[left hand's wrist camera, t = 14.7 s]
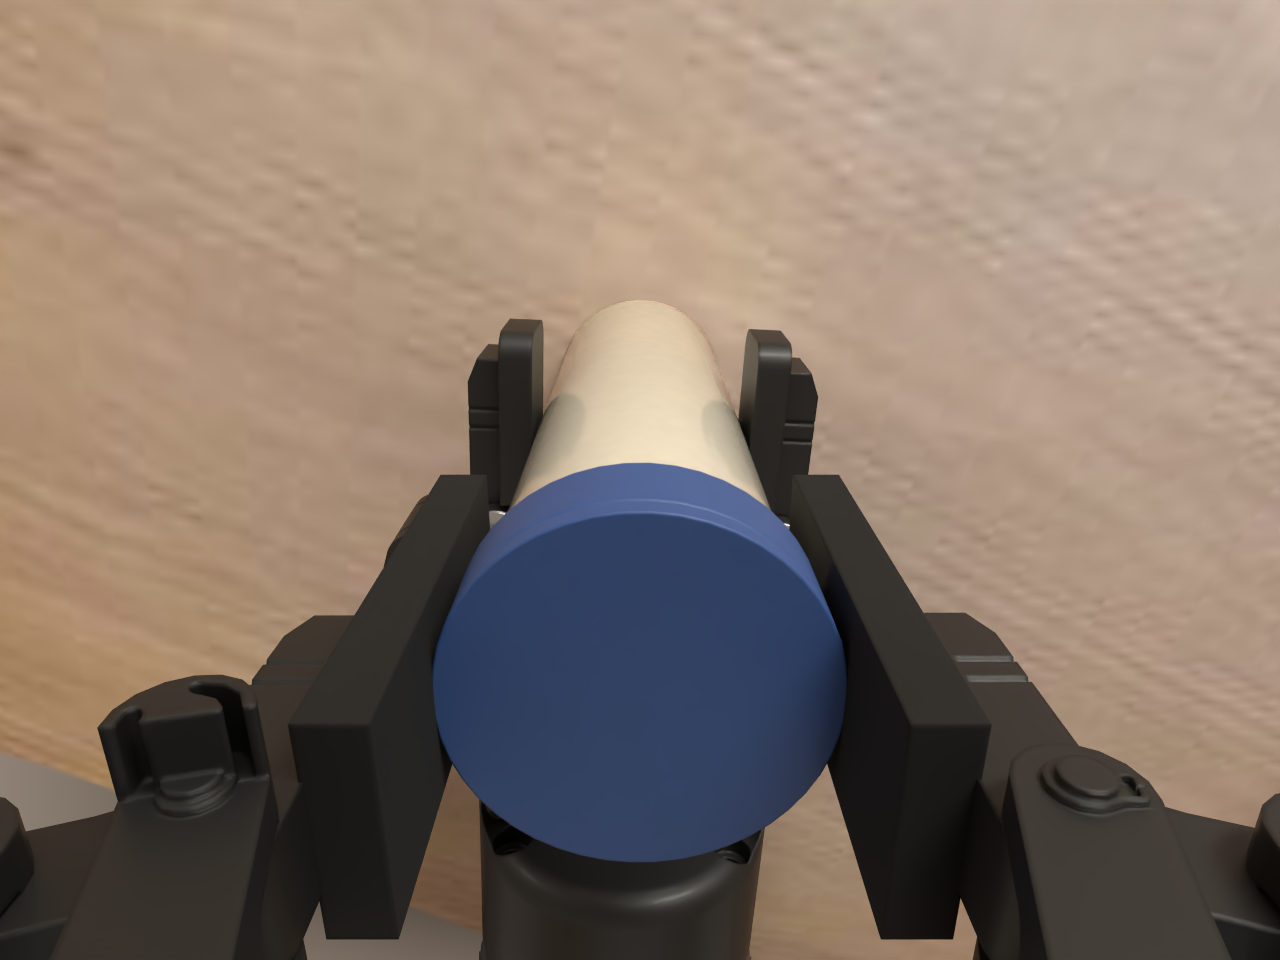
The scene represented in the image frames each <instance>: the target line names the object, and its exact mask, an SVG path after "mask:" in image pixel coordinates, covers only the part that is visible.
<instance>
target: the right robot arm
mask: <svg viewBox="0 0 1280 960" xmlns="http://www.w3.org/2000/svg"><path fill="white" fill-rule="evenodd" d="M817 401H818V395H817V392H816V388H815V385H814V381H813V377H812V374H811V372H810V371H809V370H808V368H807V367H806V366H805V364H804V363H803V362H802V361H801V359H800V358H792V348H791V344H790V342H789V341H788V340H787V338H786V337H785V336H784V334H783V333H782V332H781V331H776V330H755V329H749V330H748V333H747V338H746V345H745V356H744V366H743V377H742V387H741V398H740V408H739V419H738V421H739V424H740V427H741V429H742V432H743V435H744V438H745V440H746V443H747V446H748V448H749V451H750V454H751V457H752V459H753V462H754V465H755V468H756V470H757V473H758V476H759V479H760V481H761V484H762V487H763V489H764V492H765V495H766V498H767V500H768V503H769V506H770V509H771V511H772V512H773V513H774V514H775V515H776V516H777V517H778V518H779V519H780V520H781V521H782V522H783V523H784V524H785V526H786V527H787V528H788V529H789V525H790V511H791V496H792V482H793V475H808V471H809V463H810V455H811V447H812V440H813V432H814V421H815V416H816V409H817ZM468 403H469V425H470V428H469V440H470V475H487V489H488V504H489V518H490V530H491V528H492V527H493V526H494V525H495V524H496V523H497V522H498V521H499V520H500V519H501V518H502V517H503V516H504V515H505V514H506V513H507V512H508V511H509V508H510V505H511V502H512V500H513V497H514V494H515V491H516V489H517V486H518V483H519V480H520V478H521V475H522V472H523V470H524V467H525V464H526V461H527V459H528V456H529V453H530V450H531V448H532V445H533V442H534V439H535V437H536V434H537V431H538V429H539V426H540V423H541V420H542V418H543V322H542V320H528V319H510V320H509V321H508V322H507V324H506V325H505V326H504V327H503V329H502V330H501V333H500V337H499V345H495V344H488V345H487V346H486V348H485V349H484V350H483V352H482V353H481V354H480V355H479V357H478V358H477V360H476V362H475V365H474V367H473V370H472V373H471V375H470V378H469V380H468ZM427 496H428V495H426V496H424V497H423V498H421V499H420V500H419V501H418V503H417V504H416V506H415V507H414V509H413V511H412V512H411V513H410V515H409V517H408V518H407V520H406V521H405V523H404V525H403V526H402V528H401V529H400V531H399V532H398V534H397V536H396V537H395V539H394V541H393V542H392V544H391V545H390V547H389V549H388V552H387V556H386V560H385V564H384V567H385V565H386V563H387V562H388V560H389V558H390V557H391V555H392V553H393V552H394V550H395V549H396V547H397V545H398V544H399V542H400V540H401V539H402V537H403V536H404V534H405V532H406V531H407V529H408V527H409V526H410V524H411V522H412V521H413V519H414V518H415V516H416V514H417V513H418V511H419V509H420V508H421V506H422V505H423V503H424V501H425V500H426V498H427ZM479 808H480V841H481V879H482V925H483V941H482V944H481V951H480V952H479V960H751V956H750V952H749V946H750V938H751V930H752V922H753V915H754V907H755V899H756V892H757V884H758V876H759V868H760V861H761V853H762V845H763V837H764V830H765V827H764V828H763V829H761V830H759V831H757V832H756V833H754V834H752V835H751V836H749V837H747V838H745V839H742V840H740V841H738V842H736V843H734V844H731V845H729V846H727V847H724V848H721V849H718V850H715V851H712V852H709V853H705V854H702V855H697V856H693V857H688V858H683V859H678V860H669V861H660V862H620V861H609V860H602V859H597V858H592V857H587V856H581V855H578V854H575V853H571V852H568V851H565V850H561V849H558V848H555V847H553V846H551V845H548V844H546V843H544V842H541V841H539V840H537V839H534V838H533V837H531V836H529V835H527V834H526V833H524V832H522V831H520V830H518V829H517V828H515V827H513V826H512V825H510V824H509V823H508V822H506V821H505V820H504V819H502V818H501V817H499V816H498V815H497V814H495V813H494V812H493V811H492V810H491V809H490V808H489V807H487V806H486V805H485V804H484V803H483V802H482V801H481V800H480V799H479Z"/></svg>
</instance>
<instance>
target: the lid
mask: <svg viewBox="0 0 1280 960" xmlns="http://www.w3.org/2000/svg"><path fill="white" fill-rule="evenodd" d="M432 683H433V695H434V704H435V713H436V722H437V728H438V732H439V735H440V739H441V741H442V743H443V745H444V748H445V750H446V752H447V754H448V757H449V759H450V760H451V762H452V764H453V765H454V767H455V768H456V770H457V772H458V773H459V775H460V776H461V778H462V779H463V781H464V782H465V783H466V784H467V785H468V787H469V788H470V789H471V790H472V791H473V793H474V794H475V795H476V796H477V797H478V798H479V799H480V800H481V801H482V802H483V803H484V804H485V805H486V806H487V807H489V808H490V809H491V810H492V811H493V812H494V813H495V814H497V815H498V816H499V817H501V818H502V819H504V820H505V821H506V822H508V823H509V824H510V825H512V826H513V827H515V828H517V829H518V830H520V831H522V832H524V833H526V834H527V835H529V836H531V837H533V838H534V839H537V840H539V841H541V842H544V843H546V844H548V845H551V846H553V847H555V848H558V849H561V850H565V851H568V852H571V853H575V854H578V855H581V856H587V857H592V858H597V859H602V860H609V861H620V862H660V861H669V860H678V859H683V858H688V857H693V856H697V855H702V854H705V853H709V852H712V851H715V850H718V849H721V848H724V847H727V846H729V845H731V844H734V843H736V842H738V841H740V840H742V839H745V838H747V837H749V836H751V835H752V834H754V833H756V832H757V831H759V830H761V829H763V828H764V827H766V826H768V825H769V824H771V823H772V822H773V821H775V820H776V819H777V818H779V817H780V816H781V815H783V814H784V813H785V812H786V811H788V810H789V809H790V808H791V807H792V806H793V805H794V804H795V803H796V802H797V801H798V800H799V799H800V798H801V797H802V796H803V795H804V794H805V793H806V792H807V791H808V790H809V788H810V787H811V786H812V785H813V783H814V782H815V781H816V780H817V778H818V777H819V776H820V774H821V773H822V771H823V769H824V768H825V766H826V764H827V762H828V761H829V759H830V757H831V756H832V754H833V751H834V749H835V746H836V744H837V741H838V739H839V737H840V734H841V731H842V726H843V717H844V708H845V699H846V689H847V662H846V657H845V653H844V648H843V644H842V640H841V638H840V635H839V633H838V630H837V628H836V625H835V623H834V620H833V618H832V615H831V613H830V610H829V608H828V606H827V603H826V601H825V598H824V596H823V593H822V591H821V589H820V586H819V584H818V581H817V579H816V577H815V574H814V572H813V569H812V567H811V564H810V562H809V560H808V558H807V556H806V554H805V553H804V551H803V549H802V548H801V546H800V544H799V542H798V541H797V539H796V538H795V537H794V536H793V534H792V533H791V532H790V531H789V529H788V528H787V527H786V526H785V524H784V523H783V522H782V521H781V520H780V519H779V518H778V517H777V516H776V515H775V514H774V513H773V512H772V511H770V510H769V509H768V508H767V507H766V506H765V505H764V504H762V503H761V502H759V501H758V500H757V499H755V498H754V497H752V496H751V495H750V494H748V493H747V492H745V491H743V490H741V489H740V488H738V487H736V486H734V485H732V484H730V483H728V482H726V481H725V480H722V479H719V478H717V477H714V476H711V475H709V474H706V473H703V472H701V471H697V470H692V469H688V468H684V467H680V466H676V465H667V464H658V463H620V464H613V465H606V466H598V467H595V468H591V469H587V470H583V471H580V472H576V473H573V474H570V475H568V476H565V477H563V478H560V479H558V480H556V481H553V482H551V483H549V484H547V485H545V486H544V487H542V488H540V489H538V490H537V491H535V492H533V493H531V494H529V495H528V496H527V497H525V498H524V499H523V500H521V501H520V502H519V503H518V504H516V505H515V506H514V507H512V508H511V509H510V510H509V511H508V512H507V513H506V514H505V515H504V516H503V517H502V518H501V519H500V520H499V521H498V522H497V523H496V524H495V525H494V526H493V527H492V528H491V530H490V531H489V532H488V534H487V535H486V536H485V538H484V539H483V540H482V542H481V543H480V544H479V546H478V548H477V550H476V552H475V554H474V555H473V557H472V559H471V561H470V563H469V565H468V567H467V570H466V572H465V575H464V577H463V579H462V582H461V584H460V587H459V589H458V592H457V594H456V596H455V599H454V601H453V604H452V606H451V609H450V611H449V613H448V616H447V618H446V620H445V623H444V626H443V628H442V631H441V634H440V637H439V639H438V642H437V645H436V650H435V655H434V660H433V665H432Z"/></svg>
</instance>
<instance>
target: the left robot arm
mask: <svg viewBox="0 0 1280 960" xmlns="http://www.w3.org/2000/svg"><path fill="white" fill-rule="evenodd" d="M489 531H490V518H489V504H488V489H487V475H440V477H439V478H438V480H437V482H436V483H435V485H434V487H433V488H432V490H431V492H430V493H429V495H428V496H427V498H426V500H425V501H424V503H423V505H422V506H421V508H420V509H419V511H418V513H417V514H416V516H415V518H414V519H413V521H412V522H411V524H410V526H409V527H408V529H407V531H406V532H405V534H404V536H403V537H402V539H401V540H400V542H399V544H398V545H397V547H396V549H395V550H394V552H393V553H392V555H391V557H390V558H389V560H388V562H387V563H386V565H385V567H384V568H383V570H382V571H381V573H380V575H379V576H378V578H377V580H376V581H375V583H374V584H373V586H372V588H371V589H370V591H369V593H368V594H367V596H366V597H365V599H364V601H363V602H362V604H361V606H360V607H359V609H358V611H357V612H356V614H355V615H354V616H313V617H312V618H310V619H309V620H307V621H306V622H304V623H303V624H301V625H300V626H298V627H297V628H295V629H294V630H292V631H291V632H290V633H288V634H287V635H285V636H284V637H283V638H282V640H281V641H280V642H279V644H278V645H277V647H276V648H275V649H274V651H273V652H272V653H271V655H270V656H269V658H268V659H267V664H266V665H263V666H262V667H261V668H260V670H259V671H258V673H257V674H256V675H255V677H254V678H253V679H252V685H248V684H247V683H246V682H245V681H243V680H242V679H237V678H233V677H229V676H225V675H199V676H191V677H186V678H182V679H177V680H173V681H169V682H164V683H162V684H160V685H157V686H155V687H152V688H150V689H148V690H145V691H143V692H140V693H138V694H136V695H134V696H133V697H131V698H130V699H128V700H127V701H125V702H124V703H122V704H121V705H119V706H118V707H116V708H115V709H113V710H112V711H111V712H110V713H109V715H108V716H107V717H106V718H105V719H104V721H103V722H102V723H101V724H100V725H99V726H98V732H99V735H100V739H101V743H102V746H103V750H104V753H105V757H106V760H107V764H108V768H109V771H110V775H111V778H112V782H113V786H114V789H115V793H116V796H117V800H118V802H117V805H116V807H115V809H114V811H112V812H109V813H105V814H102V815H98V816H95V817H90V818H86V819H81V820H77V821H72V822H67V823H63V824H58V825H54V826H49V827H45V828H40V829H35V830H31V831H25V828H24V825H23V822H22V819H21V816H20V813H19V810H18V808H17V807H15V806H14V805H13V804H12V803H10V802H9V801H8V800H7V799H6V798H2V797H0V960H307V956H306V951H305V945H304V940H303V938H304V936H305V933H306V931H307V929H308V926H309V924H310V921H311V919H312V917H313V915H314V912H315V910H316V907H317V905H318V903H319V901H320V906H321V912H322V917H323V923H324V928H325V934H326V939H399V936H400V933H401V930H402V926H403V923H404V920H405V917H406V913H407V910H408V907H409V904H410V900H411V897H412V894H413V890H414V887H415V884H416V881H417V877H418V874H419V871H420V868H421V864H422V861H423V858H424V854H425V851H426V848H427V845H428V841H429V838H430V835H431V832H432V828H433V825H434V822H435V818H436V815H437V812H438V809H439V805H440V802H441V799H442V796H443V792H444V789H445V786H446V782H447V779H448V776H449V773H450V769H451V766H452V762H451V760H450V759H449V757H448V754H447V752H446V750H445V748H444V745H443V743H442V741H441V739H440V735H439V732H438V728H437V722H436V713H435V704H434V695H433V683H432V665H433V660H434V655H435V650H436V645H437V642H438V639H439V637H440V634H441V631H442V628H443V626H444V623H445V620H446V618H447V616H448V613H449V611H450V609H451V606H452V604H453V601H454V599H455V596H456V594H457V592H458V589H459V587H460V584H461V582H462V579H463V577H464V575H465V572H466V570H467V567H468V565H469V563H470V561H471V559H472V557H473V555H474V554H475V552H476V550H477V548H478V546H479V544H480V543H481V542H482V540H483V539H484V538H485V536H486V535H487V534H488V532H489ZM789 531H790V532H791V533H792V534H793V536H794V537H795V538H796V539H797V541H798V542H799V544H800V546H801V548H802V549H803V551H804V553H805V554H806V556H807V558H808V560H809V562H810V564H811V567H812V569H813V572H814V574H815V577H816V579H817V581H818V584H819V586H820V589H821V591H822V593H823V596H824V598H825V601H826V603H827V606H828V608H829V610H830V613H831V615H832V618H833V620H834V623H835V625H836V628H837V630H838V633H839V635H840V638H841V640H842V644H843V648H844V653H845V657H846V662H847V689H846V699H845V708H844V717H843V726H842V731H841V734H840V737H839V739H838V741H837V744H836V746H835V749H834V751H833V754H832V756H831V757H830V759H829V761H828V762H827V764H828V768H829V771H830V774H831V778H832V781H833V784H834V787H835V791H836V794H837V797H838V800H839V804H840V807H841V810H842V814H843V817H844V820H845V823H846V827H847V830H848V833H849V837H850V840H851V843H852V846H853V850H854V853H855V856H856V859H857V863H858V866H859V869H860V873H861V876H862V879H863V882H864V886H865V889H866V892H867V895H868V899H869V902H870V905H871V909H872V912H873V915H874V918H875V922H876V925H877V928H878V931H879V935H880V938H881V939H953V937H954V931H955V925H956V920H957V914H958V909H959V903H960V898H961V900H962V902H963V904H964V907H965V909H966V911H967V914H968V916H969V918H970V921H971V923H972V925H973V928H974V930H975V932H976V935H977V940H976V945H975V951H974V956H973V960H1280V794H1275V795H1274V796H1273V797H1271V798H1270V799H1269V800H1268V801H1267V802H1265V803H1264V804H1263V805H1262V808H1261V811H1260V814H1259V817H1258V820H1257V823H1256V826H1255V828H1253V827H1248V826H1243V825H1239V824H1234V823H1230V822H1225V821H1220V820H1216V819H1211V818H1207V817H1202V816H1197V815H1193V814H1188V813H1184V812H1181V811H1177V810H1174V809H1170V808H1167V807H1165V806H1164V803H1163V801H1162V799H1161V798H1160V797H1159V795H1158V794H1157V792H1156V791H1155V790H1154V788H1153V787H1152V785H1151V784H1150V783H1149V781H1147V780H1146V779H1145V778H1144V777H1142V776H1141V775H1140V774H1138V773H1137V772H1136V771H1134V770H1133V769H1132V768H1130V767H1129V766H1128V765H1127V764H1125V763H1123V762H1121V761H1118V760H1116V759H1114V758H1112V757H1110V756H1108V755H1106V754H1104V753H1102V752H1099V751H1096V750H1092V749H1088V748H1085V747H1081V746H1079V745H1078V744H1077V743H1076V741H1075V740H1074V739H1073V737H1072V736H1071V735H1070V733H1069V732H1068V731H1067V729H1066V728H1065V727H1064V725H1063V724H1062V722H1061V721H1060V720H1059V718H1058V717H1057V716H1056V714H1055V713H1054V712H1053V710H1052V709H1051V708H1050V706H1049V705H1048V703H1047V702H1046V701H1045V699H1044V698H1043V697H1042V695H1041V694H1040V693H1039V691H1038V690H1037V689H1036V687H1035V686H1034V684H1033V683H1032V682H1028V676H1027V675H1026V674H1025V672H1024V671H1023V670H1022V668H1021V667H1020V665H1019V664H1018V663H1017V662H1014V661H1013V656H1012V655H1011V653H1010V652H1009V651H1008V649H1007V648H1006V647H1005V645H1004V644H1003V642H1002V641H1001V640H1000V638H999V637H998V636H997V634H996V633H995V632H993V631H992V630H990V629H989V628H987V627H986V626H984V625H983V624H981V623H980V622H978V621H977V620H975V619H974V618H972V617H971V616H969V615H968V614H966V613H923V611H922V610H921V608H920V607H919V605H918V603H917V602H916V600H915V598H914V597H913V595H912V593H911V592H910V590H909V589H908V587H907V585H906V584H905V582H904V580H903V579H902V577H901V576H900V574H899V572H898V571H897V569H896V567H895V566H894V564H893V563H892V561H891V559H890V558H889V556H888V554H887V553H886V551H885V549H884V548H883V546H882V545H881V543H880V541H879V540H878V538H877V536H876V535H875V533H874V532H873V530H872V528H871V527H870V525H869V523H868V522H867V520H866V518H865V517H864V515H863V514H862V512H861V510H860V509H859V507H858V505H857V504H856V502H855V501H854V499H853V497H852V496H851V494H850V492H849V491H848V489H847V488H846V486H845V484H844V483H843V481H842V479H841V478H840V476H839V475H793V482H792V496H791V511H790V525H789Z"/></svg>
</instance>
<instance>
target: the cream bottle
mask: <svg viewBox="0 0 1280 960" xmlns="http://www.w3.org/2000/svg"><path fill="white" fill-rule="evenodd" d="M620 463H658V464H667V465H676V466H680V467H684V468H688V469H692V470H697V471H701V472H703V473H706V474H709V475H711V476H714V477H717V478H719V479H722V480H725V481H726V482H728V483H730V484H732V485H734V486H736V487H738V488H740V489H741V490H743V491H745V492H747V493H748V494H750V495H751V496H752V497H754V498H755V499H757V500H758V501H759V502H761V503H762V504H764V505H765V506H766V507H767V508H768V509H769V510H770V511H771V509H770V506H769V503H768V500H767V498H766V495H765V492H764V489H763V487H762V484H761V481H760V479H759V476H758V473H757V470H756V468H755V465H754V462H753V459H752V457H751V454H750V451H749V448H748V446H747V443H746V440H745V438H744V435H743V432H742V429H741V427H740V424H739V421H738V418H737V416H736V413H735V410H734V407H733V405H732V402H731V399H730V397H729V394H728V391H727V388H726V386H725V383H724V380H723V377H722V375H721V372H720V369H719V366H718V364H717V361H716V358H715V356H714V353H713V350H712V348H711V345H710V343H709V341H708V339H707V338H706V336H705V334H704V333H703V332H702V330H701V329H700V328H699V326H698V325H697V324H696V323H695V322H694V321H693V320H692V319H690V318H689V317H688V316H686V315H685V314H684V313H682V312H680V311H679V310H677V309H675V308H673V307H671V306H668V305H666V304H663V303H659V302H655V301H647V300H632V301H625V302H621V303H617V304H614V305H611V306H609V307H607V308H604V309H603V310H601V311H599V312H598V313H596V314H594V315H593V316H592V317H591V318H589V319H588V320H587V321H586V322H585V323H584V324H583V325H582V326H581V327H580V328H579V330H578V331H577V333H576V334H575V335H574V337H573V339H572V341H571V342H570V344H569V347H568V349H567V352H566V355H565V358H564V360H563V363H562V366H561V368H560V371H559V374H558V377H557V379H556V382H555V385H554V388H553V390H552V393H551V396H550V398H549V401H548V404H547V407H546V409H545V412H544V415H543V418H542V420H541V423H540V426H539V429H538V431H537V434H536V437H535V439H534V442H533V445H532V448H531V450H530V453H529V456H528V459H527V461H526V464H525V467H524V470H523V472H522V475H521V478H520V480H519V483H518V486H517V489H516V491H515V494H514V497H513V500H512V502H511V505H510V508H509V510H510V509H511V508H512V507H514V506H515V505H516V504H518V503H519V502H520V501H521V500H523V499H524V498H525V497H527V496H528V495H529V494H531V493H533V492H535V491H537V490H538V489H540V488H542V487H544V486H545V485H547V484H549V483H551V482H553V481H556V480H558V479H560V478H563V477H565V476H568V475H570V474H573V473H576V472H580V471H583V470H587V469H591V468H595V467H598V466H606V465H613V464H620Z"/></svg>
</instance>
